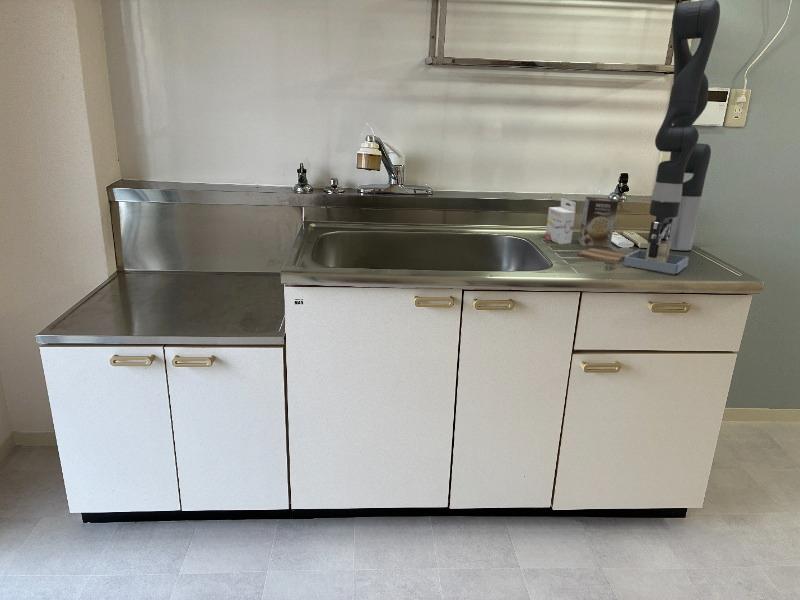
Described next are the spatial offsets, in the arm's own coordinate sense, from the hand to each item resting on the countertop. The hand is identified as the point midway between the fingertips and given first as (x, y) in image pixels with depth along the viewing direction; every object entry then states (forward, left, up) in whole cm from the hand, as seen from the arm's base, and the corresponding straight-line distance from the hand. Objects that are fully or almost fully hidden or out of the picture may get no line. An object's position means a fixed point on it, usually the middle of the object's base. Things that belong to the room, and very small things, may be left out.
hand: (656, 255), depth 167 cm
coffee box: (-12, -22, -3) cm, 26 cm away
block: (0, 0, -3) cm, 3 cm away
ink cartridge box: (-8, -33, -3) cm, 35 cm away
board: (+1, -15, -3) cm, 15 cm away
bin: (0, 0, -3) cm, 3 cm away
